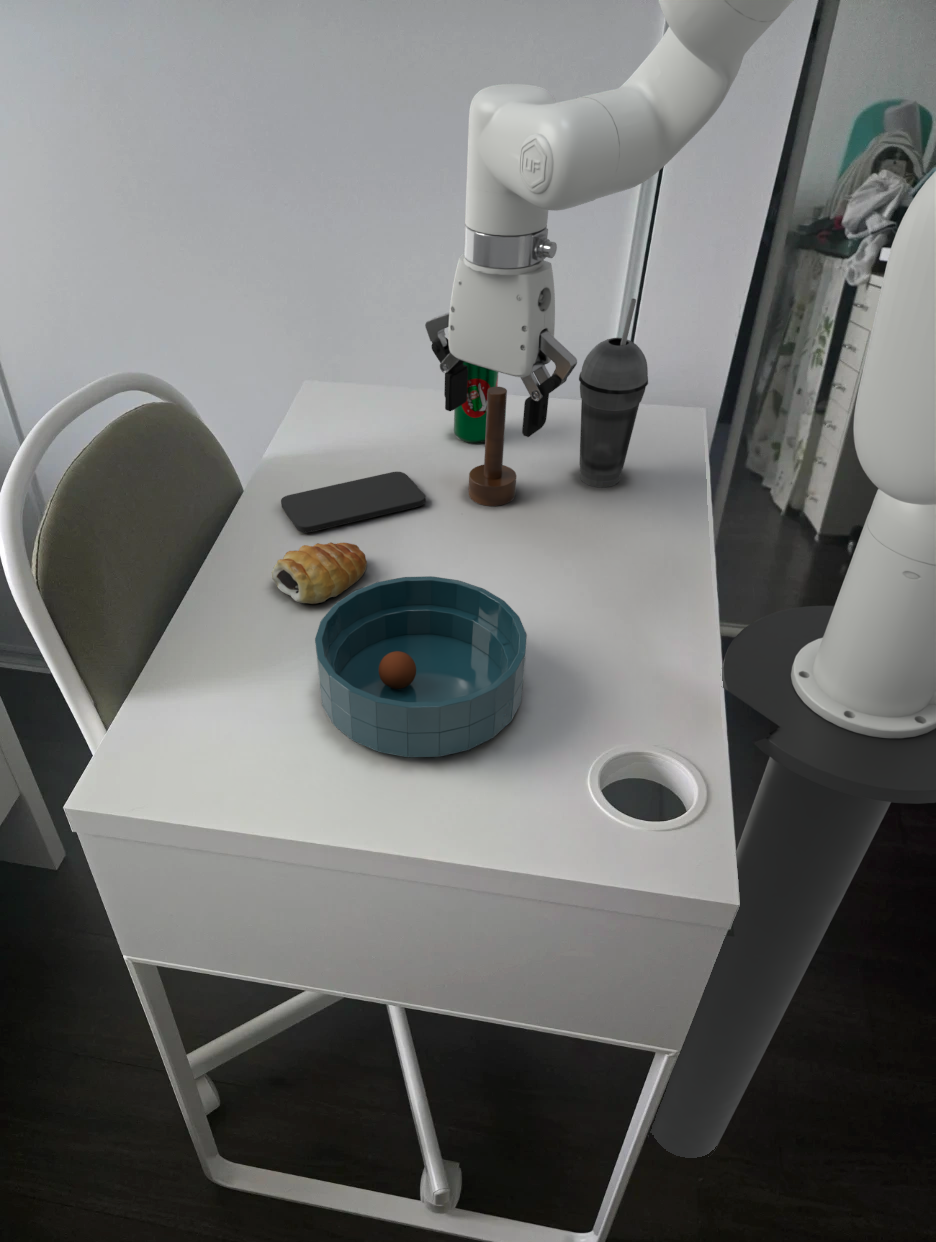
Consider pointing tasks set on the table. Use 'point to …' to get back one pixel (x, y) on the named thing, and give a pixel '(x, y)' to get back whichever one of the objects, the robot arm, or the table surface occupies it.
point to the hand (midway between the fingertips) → (493, 418)
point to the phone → (352, 501)
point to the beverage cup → (610, 405)
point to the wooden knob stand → (493, 457)
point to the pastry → (319, 571)
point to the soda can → (474, 405)
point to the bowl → (421, 665)
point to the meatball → (397, 670)
